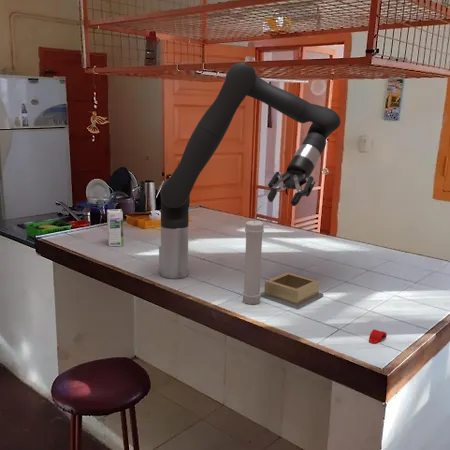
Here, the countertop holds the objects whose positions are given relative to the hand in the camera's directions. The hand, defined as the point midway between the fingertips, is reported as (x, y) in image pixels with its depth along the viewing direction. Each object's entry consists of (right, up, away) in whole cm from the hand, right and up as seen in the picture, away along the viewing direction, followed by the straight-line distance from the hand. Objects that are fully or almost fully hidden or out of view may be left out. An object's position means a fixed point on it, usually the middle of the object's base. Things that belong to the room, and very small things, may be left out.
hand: (280, 202), depth 152 cm
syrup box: (-62, -15, +54) cm, 83 cm away
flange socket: (+4, -29, +3) cm, 29 cm away
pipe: (-9, -30, -2) cm, 31 cm away
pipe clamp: (+22, -36, -24) cm, 49 cm away
